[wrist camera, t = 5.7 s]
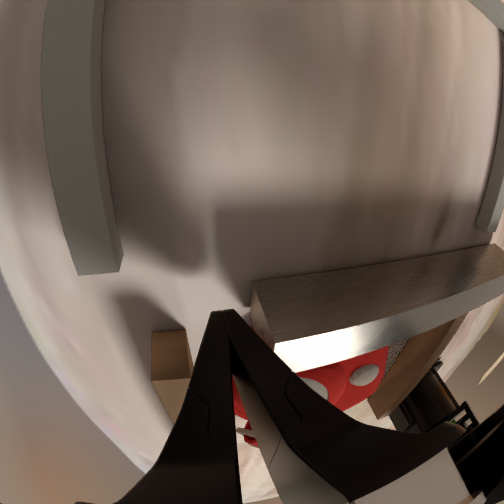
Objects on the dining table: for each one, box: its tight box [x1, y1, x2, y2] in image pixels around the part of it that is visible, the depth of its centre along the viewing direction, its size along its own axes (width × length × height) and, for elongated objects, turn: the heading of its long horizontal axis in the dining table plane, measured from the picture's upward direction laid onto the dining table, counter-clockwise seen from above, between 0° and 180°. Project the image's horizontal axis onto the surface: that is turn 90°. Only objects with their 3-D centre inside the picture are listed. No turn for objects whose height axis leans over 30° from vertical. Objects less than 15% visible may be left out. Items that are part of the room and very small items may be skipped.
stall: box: [151, 313, 468, 424], centre depth 16 cm, size 18×15×2 cm
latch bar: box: [250, 243, 504, 373], centre depth 12 cm, size 18×2×3 cm, turn 88°
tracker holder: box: [232, 327, 389, 448], centre depth 15 cm, size 12×4×10 cm
